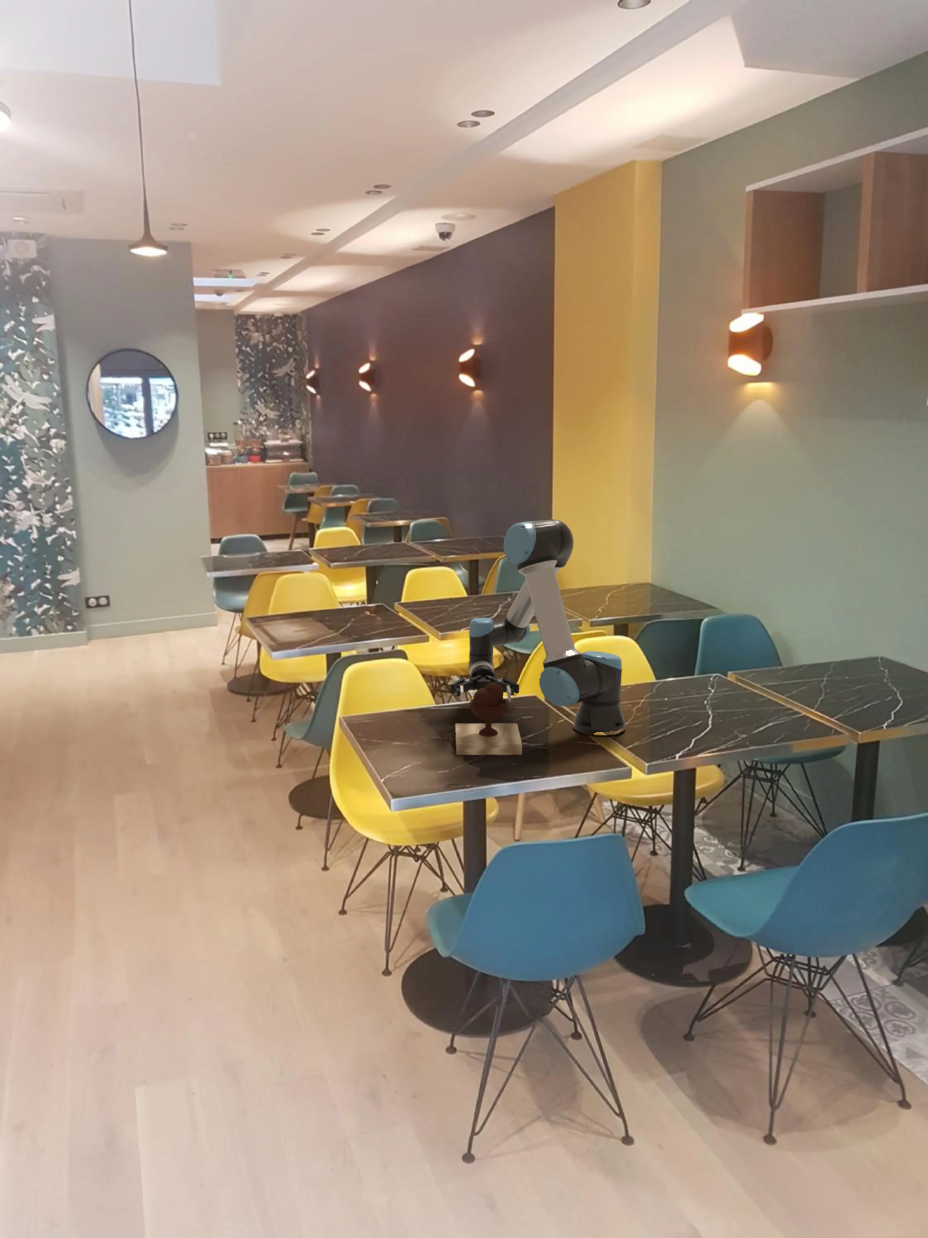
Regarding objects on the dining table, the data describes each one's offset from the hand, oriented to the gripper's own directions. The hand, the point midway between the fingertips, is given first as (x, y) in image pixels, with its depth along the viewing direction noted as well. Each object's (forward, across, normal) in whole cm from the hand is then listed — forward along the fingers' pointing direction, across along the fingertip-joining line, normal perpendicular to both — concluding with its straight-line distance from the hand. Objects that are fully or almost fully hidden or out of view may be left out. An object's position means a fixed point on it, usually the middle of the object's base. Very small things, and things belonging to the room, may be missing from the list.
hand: (486, 696), depth 280 cm
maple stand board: (+4, 0, -13) cm, 13 cm away
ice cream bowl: (+3, -1, -10) cm, 11 cm away
